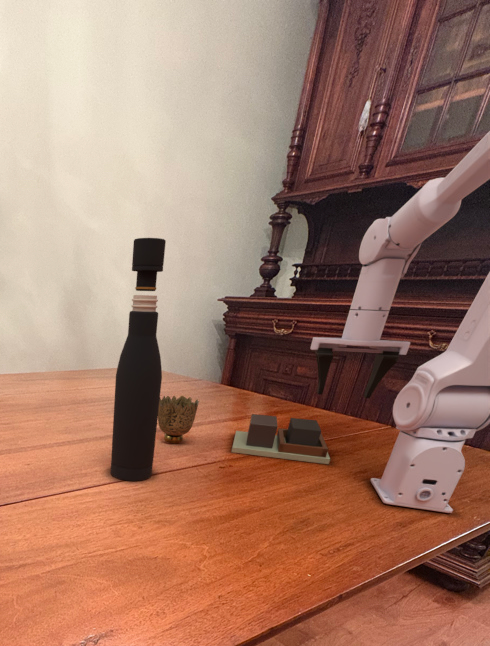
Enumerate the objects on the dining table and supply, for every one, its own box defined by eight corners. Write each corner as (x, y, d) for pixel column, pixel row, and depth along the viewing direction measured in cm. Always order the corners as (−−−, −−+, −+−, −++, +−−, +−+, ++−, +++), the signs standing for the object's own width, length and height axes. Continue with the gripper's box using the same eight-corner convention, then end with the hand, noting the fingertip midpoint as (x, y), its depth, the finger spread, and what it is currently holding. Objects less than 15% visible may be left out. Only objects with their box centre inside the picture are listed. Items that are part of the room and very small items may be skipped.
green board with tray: (328, 464, 72) (338, 435, 70) (231, 452, 77) (236, 424, 74) (321, 445, 82) (329, 419, 80) (235, 435, 87) (240, 410, 84)
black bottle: (150, 483, 63) (176, 236, 48) (107, 479, 64) (120, 236, 49) (152, 468, 68) (176, 242, 54) (113, 465, 69) (126, 242, 55)
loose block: (314, 453, 74) (321, 430, 72) (287, 450, 75) (293, 427, 73) (310, 441, 81) (316, 420, 79) (285, 438, 82) (290, 417, 80)
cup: (146, 438, 83) (150, 396, 79) (177, 434, 86) (182, 394, 82) (168, 449, 77) (173, 404, 73) (200, 445, 80) (207, 401, 76)
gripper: (413, 311, 71) (383, 395, 78) (318, 308, 76) (298, 388, 82) (426, 312, 66) (392, 402, 72) (323, 309, 70) (300, 394, 77)
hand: (342, 395), depth 77 cm, fingers open, 7 cm apart
